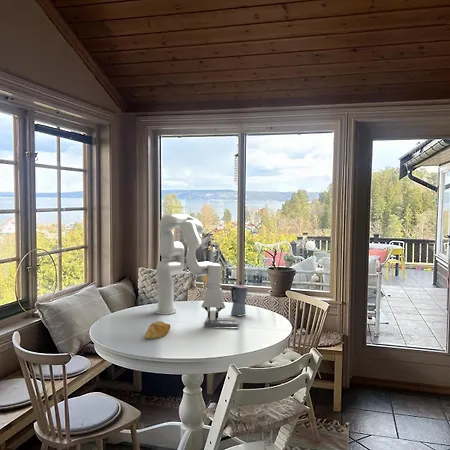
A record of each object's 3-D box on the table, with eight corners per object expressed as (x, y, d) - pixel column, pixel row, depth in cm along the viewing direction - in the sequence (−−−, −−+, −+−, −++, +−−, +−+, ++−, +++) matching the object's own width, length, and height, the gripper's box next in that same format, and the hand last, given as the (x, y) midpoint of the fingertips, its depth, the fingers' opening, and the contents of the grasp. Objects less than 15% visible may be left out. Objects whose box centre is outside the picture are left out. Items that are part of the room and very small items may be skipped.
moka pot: (251, 313, 279) (252, 281, 278) (238, 319, 266) (239, 285, 265) (238, 311, 285) (239, 279, 283) (224, 316, 272) (225, 283, 270)
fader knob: (210, 321, 256) (210, 309, 255) (215, 321, 255) (216, 309, 255) (209, 323, 252) (210, 311, 251) (215, 323, 251) (215, 311, 251)
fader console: (206, 321, 260) (206, 316, 260) (238, 322, 258) (238, 318, 258) (204, 327, 248) (204, 322, 248) (237, 328, 247) (237, 323, 246)
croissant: (150, 348, 222) (156, 335, 220) (135, 336, 225) (141, 323, 223) (173, 336, 241) (179, 323, 239) (158, 324, 244) (165, 312, 242)
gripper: (198, 286, 249) (197, 320, 250) (228, 288, 248) (227, 321, 249) (199, 284, 257) (199, 316, 258) (229, 285, 255) (228, 318, 257)
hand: (212, 318), depth 253 cm, fingers closed on fader knob, 3 cm apart
